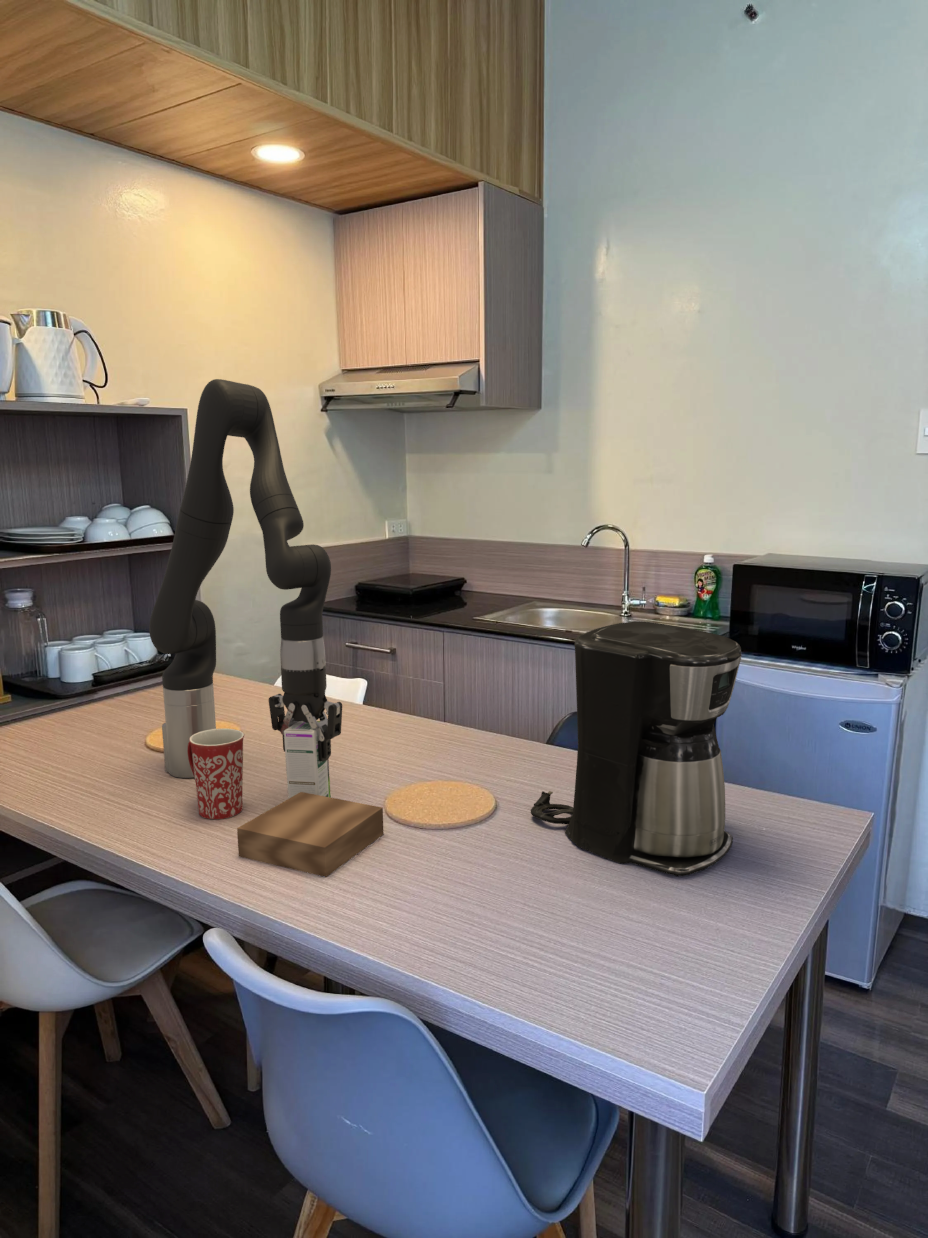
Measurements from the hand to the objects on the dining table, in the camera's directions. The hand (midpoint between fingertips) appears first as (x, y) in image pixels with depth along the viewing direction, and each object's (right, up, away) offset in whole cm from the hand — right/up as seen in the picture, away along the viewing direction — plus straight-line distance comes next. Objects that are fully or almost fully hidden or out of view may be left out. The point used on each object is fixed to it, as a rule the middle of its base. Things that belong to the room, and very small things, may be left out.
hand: (307, 757), depth 150 cm
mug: (-16, -9, 0) cm, 18 cm away
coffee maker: (+55, -11, -11) cm, 57 cm away
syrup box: (0, -9, +2) cm, 9 cm away
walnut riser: (+3, -12, -14) cm, 19 cm away
